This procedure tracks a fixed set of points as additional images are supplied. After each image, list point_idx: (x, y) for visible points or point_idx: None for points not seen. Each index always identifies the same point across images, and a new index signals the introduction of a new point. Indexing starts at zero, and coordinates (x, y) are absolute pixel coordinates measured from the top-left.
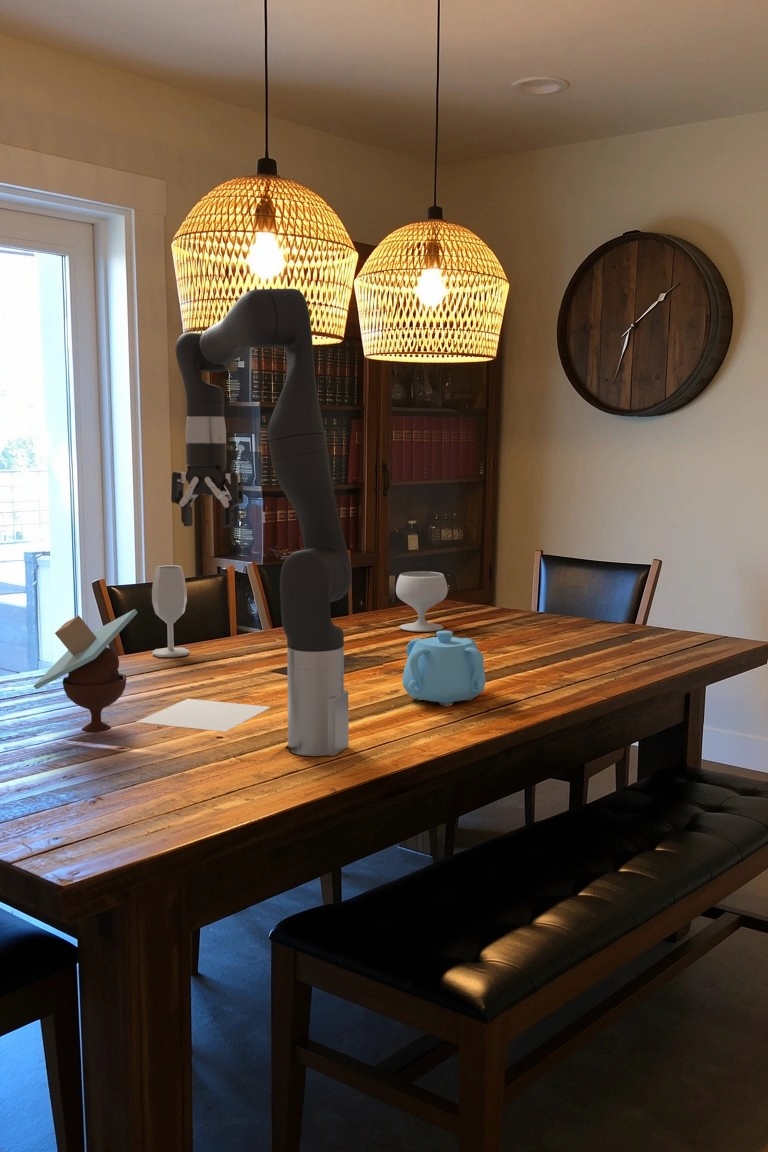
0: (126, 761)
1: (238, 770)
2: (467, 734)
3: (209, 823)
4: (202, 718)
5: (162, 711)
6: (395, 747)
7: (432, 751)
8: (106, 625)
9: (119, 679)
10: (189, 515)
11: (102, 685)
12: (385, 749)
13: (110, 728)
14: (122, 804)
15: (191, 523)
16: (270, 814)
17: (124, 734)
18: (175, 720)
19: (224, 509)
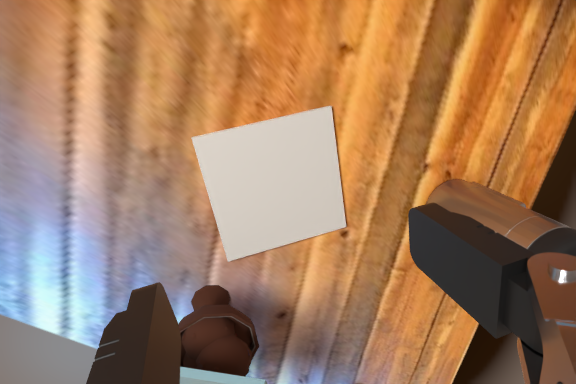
0: (315, 332)
1: (414, 288)
2: (571, 69)
3: (448, 361)
4: (288, 204)
5: (218, 211)
6: (513, 155)
7: (546, 146)
8: (194, 380)
9: (233, 321)
10: (164, 360)
11: (251, 358)
12: (507, 167)
13: (226, 295)
14: (380, 379)
15: (162, 297)
16: (475, 330)
17: (246, 287)
18: (265, 229)
19: (499, 327)
